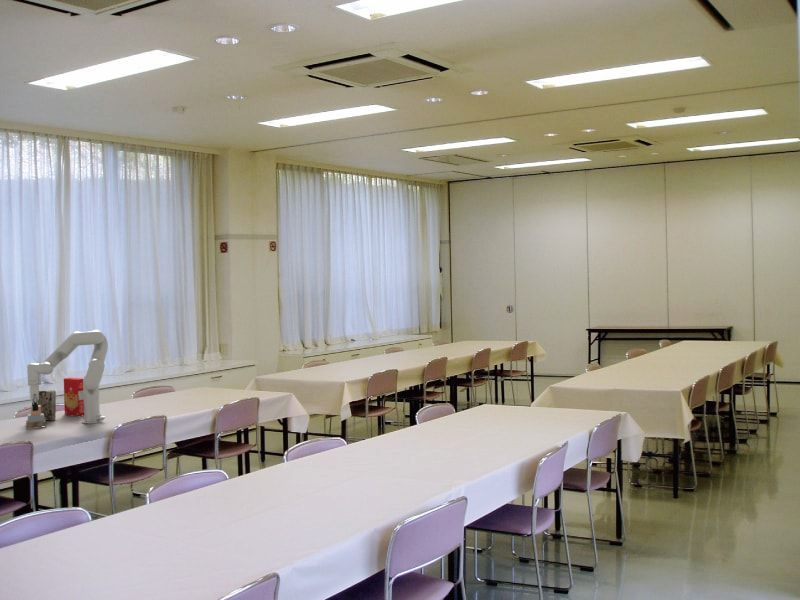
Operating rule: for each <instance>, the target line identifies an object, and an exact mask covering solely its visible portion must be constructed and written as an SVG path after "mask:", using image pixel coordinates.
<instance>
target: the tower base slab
mask: <svg viewBox="0 0 800 600" xmlns="http://www.w3.org/2000/svg"><path fill="white" fill-rule="evenodd" d="M25 426H26V429H27V428H32V429H35V428H34V427H42V426H46V427H47V422H46V420H45V421H42V422H32V423H29V422H28V419H27V420H25ZM42 428H43V427H42Z"/></svg>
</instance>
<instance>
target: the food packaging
mask: <svg viewBox="0 0 800 600" xmlns="http://www.w3.org/2000/svg"><path fill="white" fill-rule="evenodd" d="M83 379H84V378H79V377H77V378H76V377H67V378H63V400H64V402H63V403H64V415H65V414H66V415H65V416H70V415H73V416H72V417H78V416H80V417H83V416H82V415H84V392H83Z"/></svg>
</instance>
